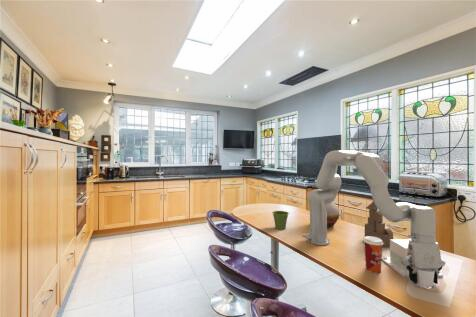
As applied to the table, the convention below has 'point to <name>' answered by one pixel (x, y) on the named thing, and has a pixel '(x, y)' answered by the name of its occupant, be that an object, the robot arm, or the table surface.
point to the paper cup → (373, 253)
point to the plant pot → (280, 219)
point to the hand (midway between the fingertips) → (423, 281)
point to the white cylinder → (425, 277)
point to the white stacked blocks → (399, 256)
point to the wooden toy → (377, 226)
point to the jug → (331, 214)
